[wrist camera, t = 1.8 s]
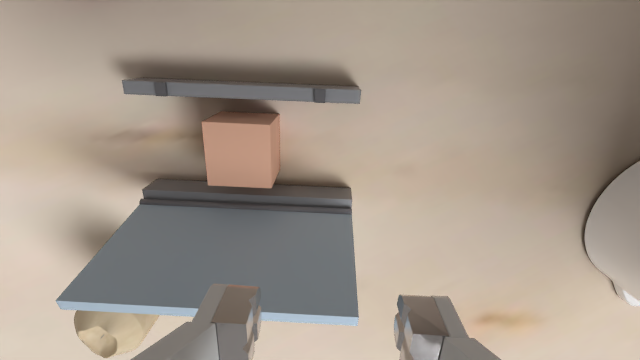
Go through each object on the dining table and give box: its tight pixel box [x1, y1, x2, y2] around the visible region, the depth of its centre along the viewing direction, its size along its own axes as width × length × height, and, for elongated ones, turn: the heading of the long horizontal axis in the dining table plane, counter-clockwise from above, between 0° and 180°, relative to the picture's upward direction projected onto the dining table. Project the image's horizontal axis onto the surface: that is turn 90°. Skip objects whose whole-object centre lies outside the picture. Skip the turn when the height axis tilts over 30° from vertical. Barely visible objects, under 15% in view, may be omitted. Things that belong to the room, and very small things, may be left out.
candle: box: [74, 310, 159, 358], centre depth 29 cm, size 6×6×10 cm
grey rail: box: [122, 78, 361, 209], centre depth 27 cm, size 18×10×3 cm, turn 88°
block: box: [202, 111, 280, 188], centre depth 26 cm, size 5×5×4 cm
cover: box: [56, 199, 359, 326], centre depth 24 cm, size 18×10×2 cm
